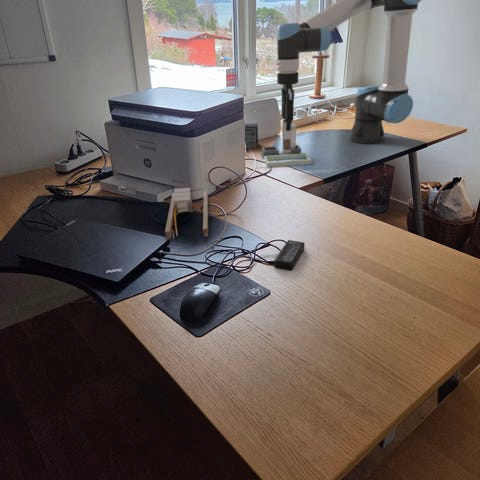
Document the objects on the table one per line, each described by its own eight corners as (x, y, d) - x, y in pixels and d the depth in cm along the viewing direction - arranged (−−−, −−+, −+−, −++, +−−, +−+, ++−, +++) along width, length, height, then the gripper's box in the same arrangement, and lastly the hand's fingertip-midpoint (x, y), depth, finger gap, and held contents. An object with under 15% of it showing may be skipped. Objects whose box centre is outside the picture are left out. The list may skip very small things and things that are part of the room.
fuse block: (298, 153, 177) (298, 144, 175) (302, 158, 171) (302, 149, 169) (260, 156, 177) (260, 146, 175) (262, 161, 170) (262, 151, 169)
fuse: (295, 153, 175) (295, 123, 169) (296, 155, 172) (297, 125, 166) (287, 153, 175) (287, 124, 169) (288, 155, 172) (289, 126, 166)
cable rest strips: (207, 197, 140) (207, 190, 139) (208, 236, 115) (207, 228, 114) (173, 199, 139) (172, 192, 138) (166, 239, 115) (165, 231, 113)
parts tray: (306, 159, 170) (306, 153, 169) (311, 166, 162) (311, 160, 161) (264, 162, 170) (264, 155, 168) (267, 169, 162) (266, 163, 160)
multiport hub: (273, 269, 100) (273, 260, 98) (288, 247, 108) (288, 239, 107) (291, 272, 98) (291, 263, 97) (304, 250, 107) (305, 242, 106)
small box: (258, 146, 190) (258, 122, 185) (257, 150, 184) (257, 126, 180) (235, 146, 191) (234, 123, 186) (233, 150, 186) (232, 126, 181)
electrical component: (194, 246, 117) (193, 232, 114) (173, 248, 117) (170, 234, 113) (192, 198, 136) (191, 185, 132) (173, 200, 135) (172, 187, 132)
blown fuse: (290, 150, 165) (290, 119, 159) (291, 152, 162) (292, 121, 156) (281, 150, 165) (281, 119, 159) (283, 153, 162) (283, 121, 156)
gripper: (274, 69, 157) (274, 132, 168) (280, 75, 143) (280, 143, 154) (294, 68, 157) (292, 131, 168) (302, 74, 143) (300, 142, 154)
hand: (286, 137), depth 161 cm, fingers closed on blown fuse, 3 cm apart
